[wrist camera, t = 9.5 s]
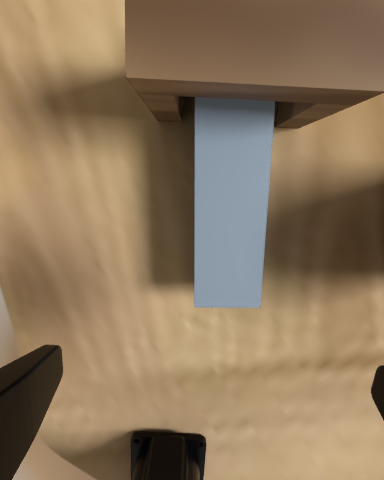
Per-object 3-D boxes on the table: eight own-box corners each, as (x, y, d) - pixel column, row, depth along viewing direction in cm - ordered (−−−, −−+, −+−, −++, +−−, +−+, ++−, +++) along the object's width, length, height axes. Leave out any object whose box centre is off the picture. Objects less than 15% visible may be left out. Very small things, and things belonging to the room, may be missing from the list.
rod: (247, 281, 20) (260, 307, 16) (194, 280, 20) (194, 307, 16) (262, 33, 16) (283, -11, 12) (195, 33, 16) (195, -10, 12)
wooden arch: (298, 128, 17) (386, 91, 9) (157, 120, 17) (125, 77, 9) (306, 75, 16) (409, -14, 8) (158, 67, 16) (124, -30, 8)
